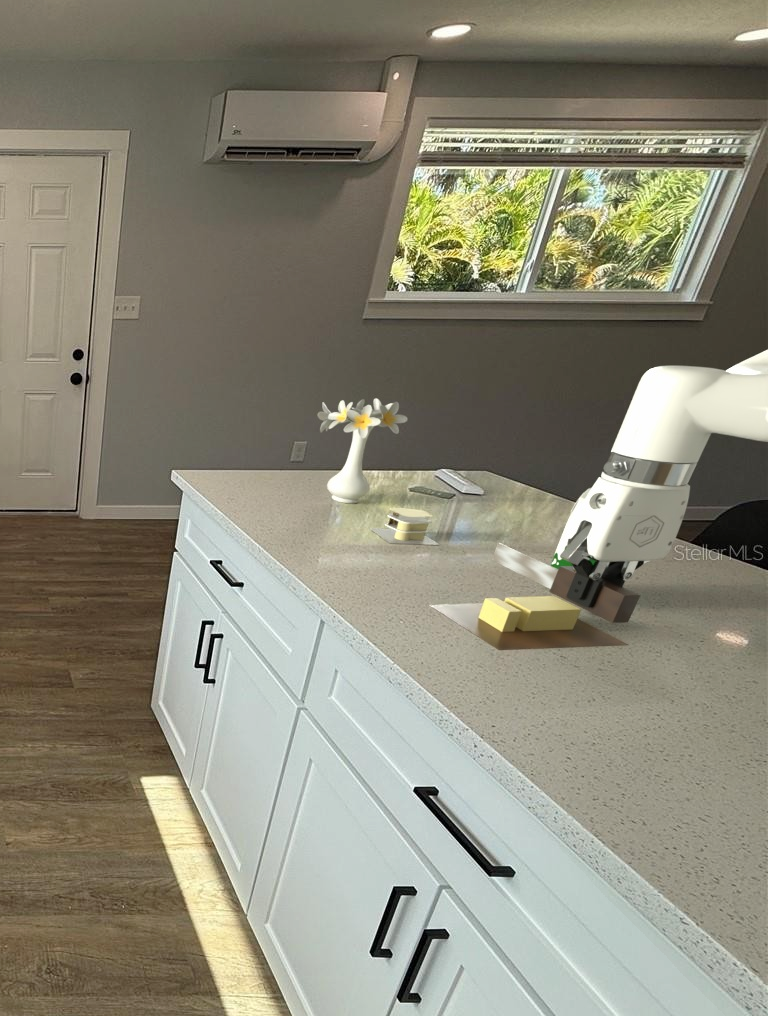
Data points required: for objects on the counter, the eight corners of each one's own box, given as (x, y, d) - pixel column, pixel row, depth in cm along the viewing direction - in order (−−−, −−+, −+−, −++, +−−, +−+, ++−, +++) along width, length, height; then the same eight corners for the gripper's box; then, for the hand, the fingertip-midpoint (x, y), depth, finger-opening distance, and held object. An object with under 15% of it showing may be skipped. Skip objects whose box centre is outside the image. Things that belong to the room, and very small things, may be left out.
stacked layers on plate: (416, 529, 140) (423, 506, 137) (440, 545, 131) (447, 520, 129) (368, 528, 141) (374, 504, 138) (389, 543, 132) (396, 518, 130)
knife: (628, 622, 82) (641, 595, 80) (612, 623, 81) (624, 595, 80) (499, 560, 100) (507, 536, 98) (485, 560, 100) (494, 536, 98)
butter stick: (546, 615, 100) (554, 595, 99) (572, 629, 96) (581, 609, 95) (498, 617, 100) (505, 597, 99) (523, 631, 96) (531, 611, 95)
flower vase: (306, 487, 169) (326, 392, 159) (386, 499, 159) (413, 398, 149) (297, 500, 159) (317, 399, 149) (382, 513, 149) (410, 407, 139)
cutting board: (540, 608, 106) (543, 600, 105) (625, 653, 93) (629, 644, 92) (425, 612, 105) (428, 604, 104) (495, 658, 92) (499, 649, 91)
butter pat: (490, 617, 100) (497, 597, 99) (514, 631, 96) (522, 611, 94) (478, 617, 100) (484, 598, 98) (501, 632, 96) (509, 611, 94)
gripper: (616, 480, 74) (558, 617, 81) (742, 478, 75) (674, 614, 82) (557, 463, 81) (509, 591, 88) (674, 461, 82) (616, 588, 89)
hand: (589, 601), depth 85 cm, fingers closed on knife, 2 cm apart
